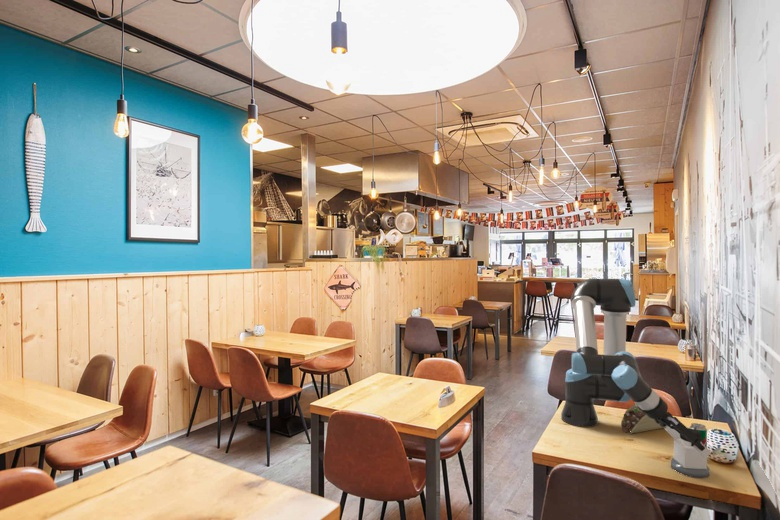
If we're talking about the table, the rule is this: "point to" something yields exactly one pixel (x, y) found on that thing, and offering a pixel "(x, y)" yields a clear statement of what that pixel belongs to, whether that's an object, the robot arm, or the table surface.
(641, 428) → the taco
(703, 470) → the disc
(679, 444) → the medicine bottle
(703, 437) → the soda can
